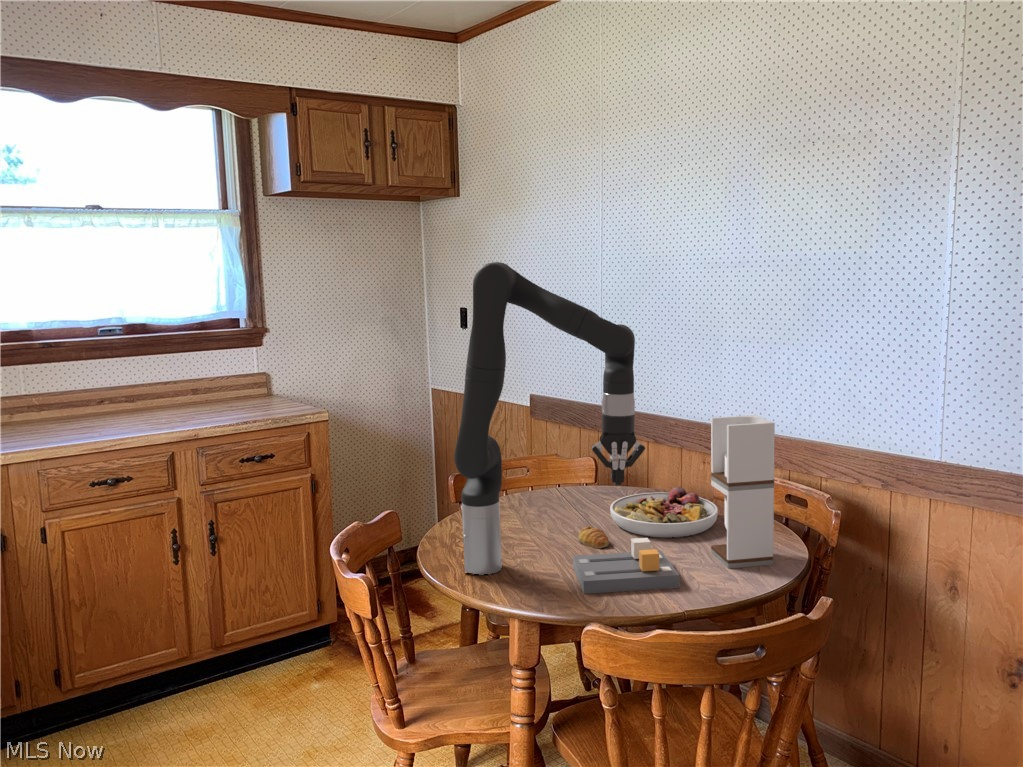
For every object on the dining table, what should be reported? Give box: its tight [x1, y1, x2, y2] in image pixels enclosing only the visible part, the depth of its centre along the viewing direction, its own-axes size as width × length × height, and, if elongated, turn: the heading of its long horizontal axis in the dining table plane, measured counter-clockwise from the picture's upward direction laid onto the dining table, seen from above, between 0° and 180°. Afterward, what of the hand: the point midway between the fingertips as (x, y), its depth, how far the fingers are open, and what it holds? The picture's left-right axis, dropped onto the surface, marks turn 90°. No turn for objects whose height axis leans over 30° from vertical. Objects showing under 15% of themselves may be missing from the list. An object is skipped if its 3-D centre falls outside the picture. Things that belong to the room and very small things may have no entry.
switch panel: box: [572, 550, 681, 595], centre depth 187 cm, size 22×16×3 cm
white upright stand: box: [710, 414, 776, 569], centre depth 193 cm, size 11×11×35 cm
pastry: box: [577, 525, 611, 549], centre depth 210 cm, size 9×7×4 cm
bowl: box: [609, 486, 719, 539], centre depth 225 cm, size 30×30×8 cm
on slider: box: [630, 537, 652, 559], centre depth 190 cm, size 4×3×4 cm
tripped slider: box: [639, 548, 659, 571], centre depth 182 cm, size 4×3×4 cm
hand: (617, 484), depth 185 cm, fingers closed
